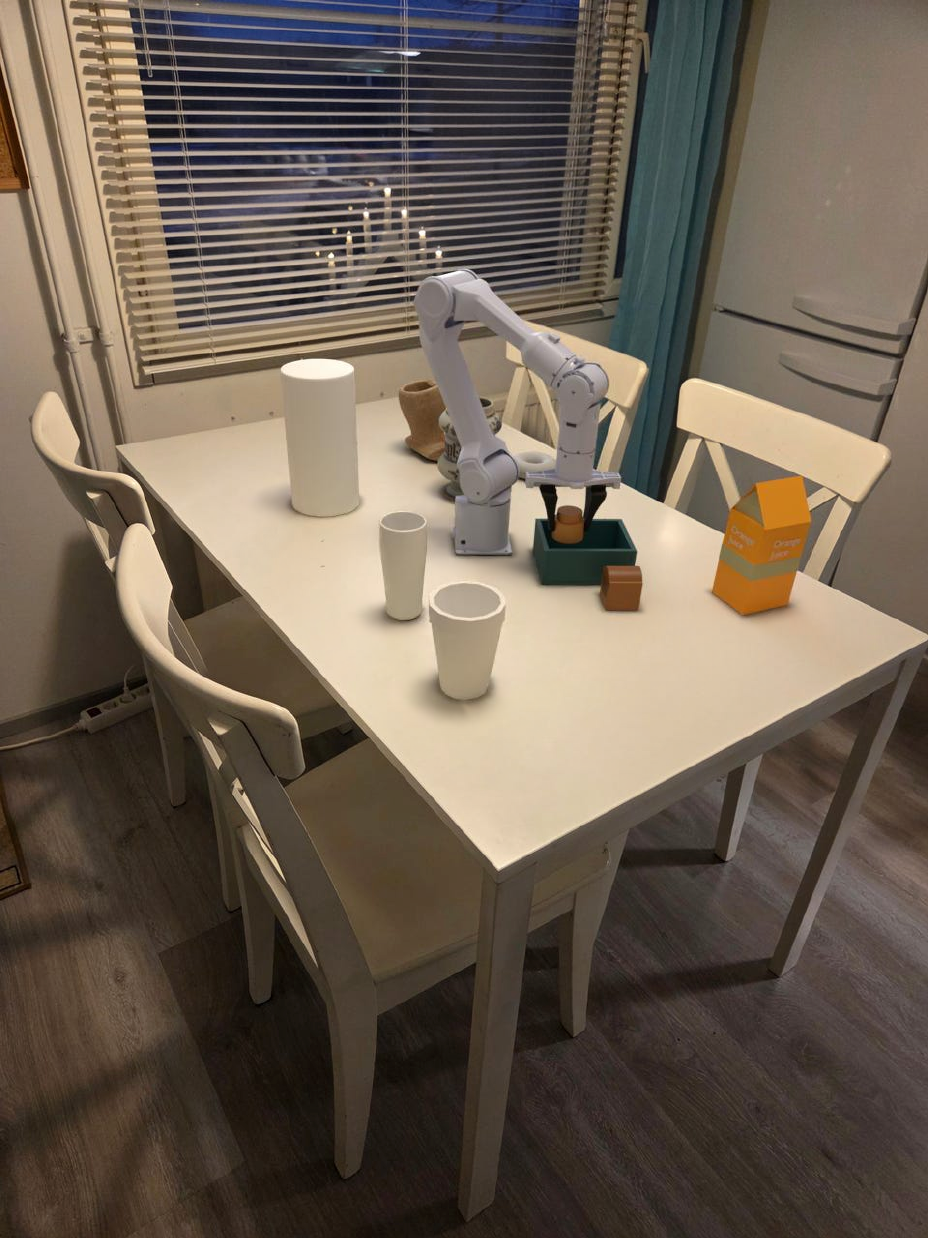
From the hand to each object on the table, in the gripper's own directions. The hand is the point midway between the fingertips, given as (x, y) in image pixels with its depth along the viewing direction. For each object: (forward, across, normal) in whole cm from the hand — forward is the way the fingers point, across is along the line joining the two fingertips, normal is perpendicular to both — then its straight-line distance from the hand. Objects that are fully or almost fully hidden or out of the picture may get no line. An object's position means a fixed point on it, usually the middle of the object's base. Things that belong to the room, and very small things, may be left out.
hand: (567, 528), depth 132 cm
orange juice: (+8, +28, -10) cm, 31 cm away
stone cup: (+8, -21, +52) cm, 56 cm away
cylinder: (+7, -41, +26) cm, 49 cm away
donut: (+8, 0, +40) cm, 41 cm away
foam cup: (+8, -18, -32) cm, 37 cm away
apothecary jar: (+8, -14, +30) cm, 34 cm away
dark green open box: (+7, +3, 0) cm, 8 cm away
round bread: (+1, 0, 0) cm, 1 cm away
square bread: (+7, +7, -10) cm, 15 cm away
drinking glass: (+8, -26, -14) cm, 30 cm away
